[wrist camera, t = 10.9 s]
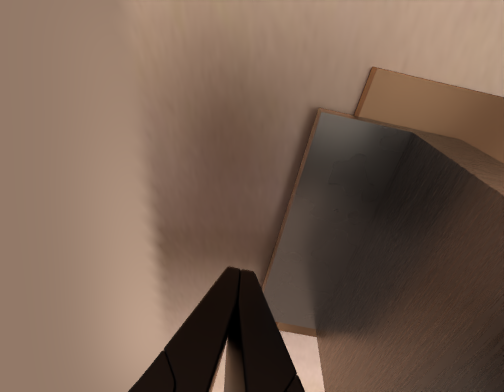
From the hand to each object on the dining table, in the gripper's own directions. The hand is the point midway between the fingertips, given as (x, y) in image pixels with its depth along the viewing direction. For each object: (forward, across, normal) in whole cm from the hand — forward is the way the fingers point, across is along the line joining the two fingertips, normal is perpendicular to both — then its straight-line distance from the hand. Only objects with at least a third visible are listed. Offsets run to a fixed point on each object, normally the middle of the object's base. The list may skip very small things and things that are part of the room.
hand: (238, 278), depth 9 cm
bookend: (+3, -4, 0) cm, 5 cm away
